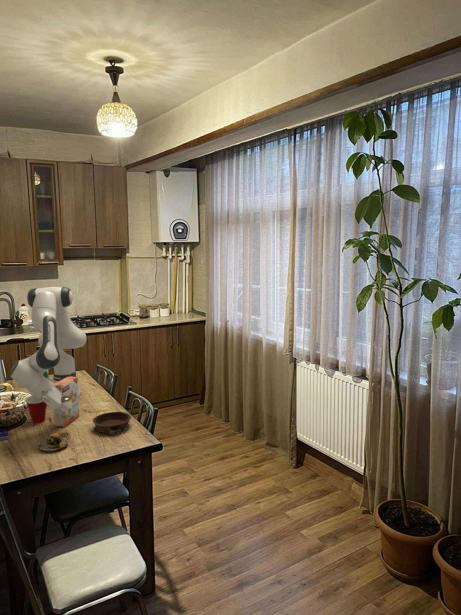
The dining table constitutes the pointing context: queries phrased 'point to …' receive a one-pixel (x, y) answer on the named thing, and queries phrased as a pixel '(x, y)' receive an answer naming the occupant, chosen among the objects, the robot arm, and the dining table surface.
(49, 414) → the dining table surface
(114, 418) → the dish
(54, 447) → the burger
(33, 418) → the plastic cup
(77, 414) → the cracker box
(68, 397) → the tea canister
